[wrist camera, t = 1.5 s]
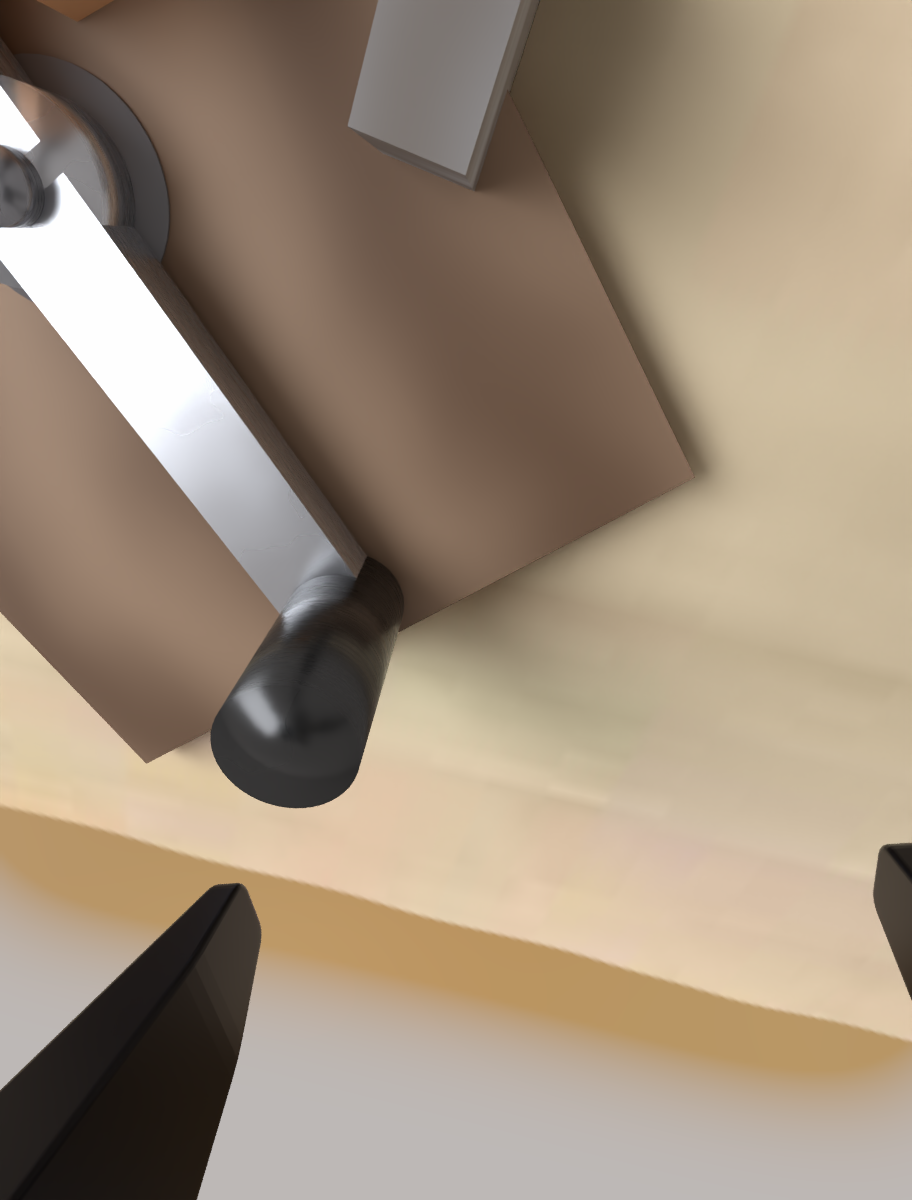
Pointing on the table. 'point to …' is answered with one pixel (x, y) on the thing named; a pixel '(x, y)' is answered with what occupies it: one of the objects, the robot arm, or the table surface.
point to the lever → (201, 450)
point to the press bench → (314, 331)
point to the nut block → (76, 7)
